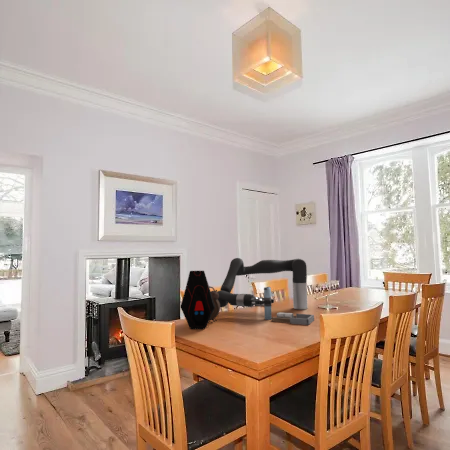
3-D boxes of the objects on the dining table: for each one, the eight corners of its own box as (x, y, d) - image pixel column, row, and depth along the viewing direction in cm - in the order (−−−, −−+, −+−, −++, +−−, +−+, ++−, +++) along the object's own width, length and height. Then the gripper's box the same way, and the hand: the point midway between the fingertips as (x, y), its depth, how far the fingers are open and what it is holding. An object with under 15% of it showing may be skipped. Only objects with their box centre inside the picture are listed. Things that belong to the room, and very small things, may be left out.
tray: (296, 318, 196) (296, 313, 196) (314, 320, 191) (314, 314, 191) (290, 323, 184) (289, 317, 184) (308, 325, 179) (308, 319, 180)
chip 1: (279, 319, 196) (279, 312, 196) (285, 319, 194) (285, 312, 194) (276, 320, 192) (276, 313, 192) (283, 321, 190) (283, 314, 191)
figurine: (217, 326, 182) (216, 269, 184) (215, 329, 174) (214, 270, 176) (183, 326, 183) (182, 270, 186) (180, 329, 176) (179, 271, 178)
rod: (266, 317, 200) (265, 286, 202) (273, 318, 198) (272, 286, 200) (262, 319, 195) (262, 287, 196) (269, 320, 193) (268, 288, 194)
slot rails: (277, 317, 199) (277, 314, 200) (296, 319, 194) (296, 315, 195) (271, 321, 190) (271, 317, 190) (290, 322, 185) (290, 319, 185)
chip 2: (286, 320, 194) (286, 312, 194) (293, 320, 192) (293, 313, 192) (284, 321, 190) (284, 314, 190) (291, 321, 188) (291, 314, 189)
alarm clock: (221, 320, 195) (220, 285, 196) (219, 323, 188) (218, 286, 189) (196, 320, 197) (196, 285, 199) (193, 323, 190) (192, 287, 191)
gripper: (250, 304, 210) (276, 306, 202) (240, 308, 198) (268, 310, 190) (249, 292, 211) (276, 293, 203) (240, 295, 198) (267, 296, 190)
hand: (272, 301), depth 196 cm, fingers closed on rod, 4 cm apart
